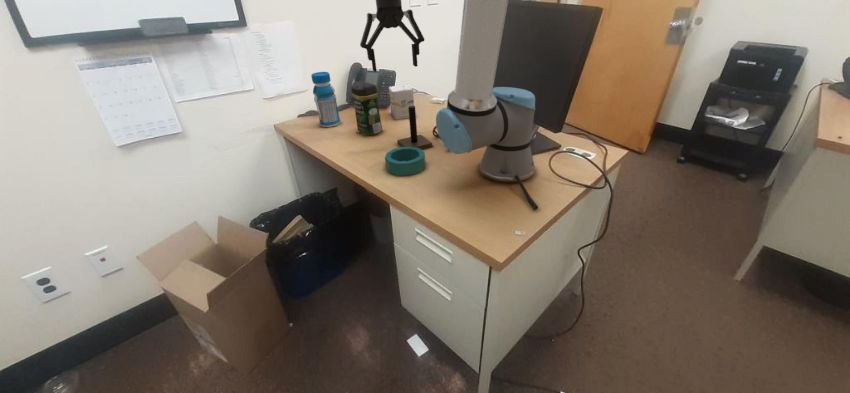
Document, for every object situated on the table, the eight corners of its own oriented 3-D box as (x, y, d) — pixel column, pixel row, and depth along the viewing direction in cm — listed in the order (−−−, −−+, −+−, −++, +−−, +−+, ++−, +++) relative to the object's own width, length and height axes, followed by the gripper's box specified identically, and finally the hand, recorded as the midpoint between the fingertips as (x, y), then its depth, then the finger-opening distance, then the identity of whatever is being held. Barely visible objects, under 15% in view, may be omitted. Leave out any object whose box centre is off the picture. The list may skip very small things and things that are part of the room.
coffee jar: (354, 131, 133) (346, 82, 123) (372, 126, 137) (365, 77, 128) (367, 138, 127) (359, 86, 117) (385, 132, 131) (379, 82, 121)
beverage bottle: (330, 128, 137) (319, 76, 127) (315, 125, 141) (303, 75, 131) (345, 122, 143) (336, 71, 133) (330, 119, 147) (320, 70, 136)
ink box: (390, 113, 149) (387, 86, 142) (409, 111, 151) (407, 83, 144) (395, 120, 142) (392, 91, 135) (415, 117, 144) (413, 88, 137)
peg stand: (432, 147, 117) (430, 107, 110) (408, 153, 114) (404, 113, 107) (420, 138, 124) (418, 100, 117) (397, 143, 121) (393, 105, 114)
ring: (431, 169, 103) (430, 157, 101) (395, 179, 99) (394, 167, 97) (415, 155, 112) (414, 143, 110) (381, 164, 108) (380, 152, 106)
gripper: (424, -11, 108) (428, 61, 119) (343, -5, 102) (355, 70, 113) (431, -11, 102) (435, 65, 113) (346, -4, 96) (358, 75, 107)
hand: (395, 68), depth 113 cm, fingers open, 13 cm apart
